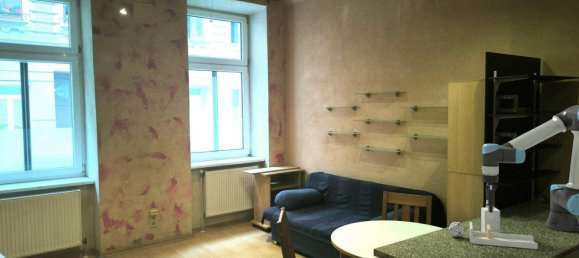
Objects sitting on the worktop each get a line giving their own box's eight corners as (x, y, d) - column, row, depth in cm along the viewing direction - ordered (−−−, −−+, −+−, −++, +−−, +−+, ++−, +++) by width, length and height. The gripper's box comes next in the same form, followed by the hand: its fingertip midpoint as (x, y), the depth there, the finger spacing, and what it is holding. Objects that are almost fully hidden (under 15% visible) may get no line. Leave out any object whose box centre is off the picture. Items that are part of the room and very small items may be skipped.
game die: (459, 245, 209) (464, 233, 202) (443, 237, 213) (446, 224, 207) (466, 233, 214) (470, 220, 208) (449, 225, 218) (453, 213, 212)
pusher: (489, 236, 207) (489, 224, 207) (490, 242, 199) (490, 229, 198) (486, 236, 208) (486, 224, 208) (487, 242, 199) (487, 229, 199)
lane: (533, 240, 202) (533, 226, 202) (537, 249, 190) (537, 233, 190) (469, 235, 212) (469, 221, 212) (470, 243, 200) (469, 228, 200)
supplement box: (500, 235, 211) (500, 210, 211) (484, 235, 213) (484, 210, 212) (496, 231, 218) (496, 207, 218) (481, 231, 220) (480, 207, 220)
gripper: (481, 170, 228) (480, 209, 228) (483, 177, 204) (482, 220, 205) (496, 171, 225) (496, 210, 225) (500, 178, 202) (499, 222, 202)
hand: (489, 215), depth 215 cm, fingers open, 13 cm apart
